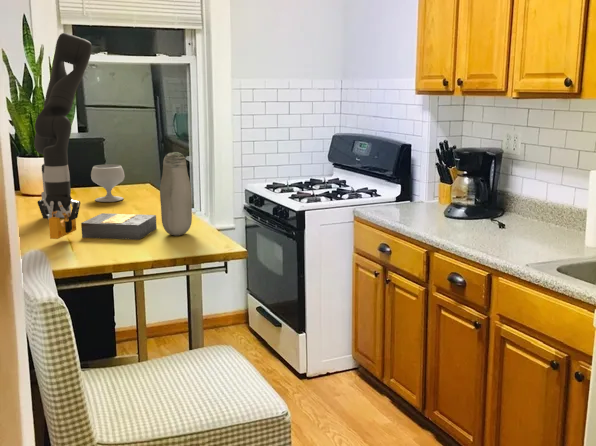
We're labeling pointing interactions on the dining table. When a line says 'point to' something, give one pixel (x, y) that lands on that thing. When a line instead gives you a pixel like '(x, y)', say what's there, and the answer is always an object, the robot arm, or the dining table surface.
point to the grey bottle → (175, 195)
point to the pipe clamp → (59, 227)
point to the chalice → (108, 179)
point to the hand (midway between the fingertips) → (61, 231)
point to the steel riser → (119, 226)
